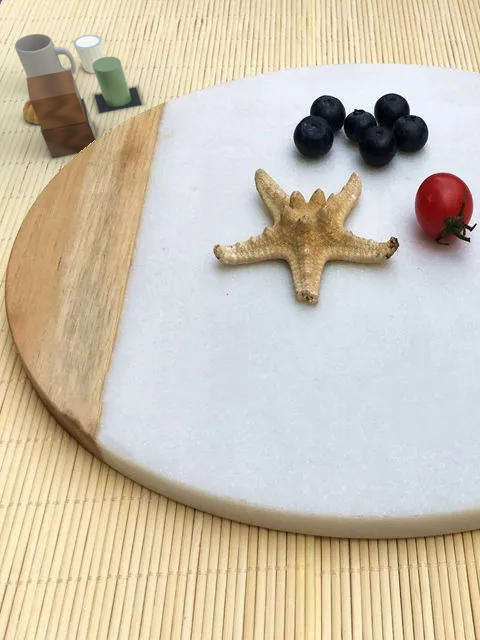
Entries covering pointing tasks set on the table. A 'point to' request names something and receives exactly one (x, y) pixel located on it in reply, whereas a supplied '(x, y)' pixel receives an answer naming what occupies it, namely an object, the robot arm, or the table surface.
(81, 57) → the white cup
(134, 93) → the slate mat
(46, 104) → the walnut block
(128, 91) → the green canister
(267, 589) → the table surface
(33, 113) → the pastry
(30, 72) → the mug
